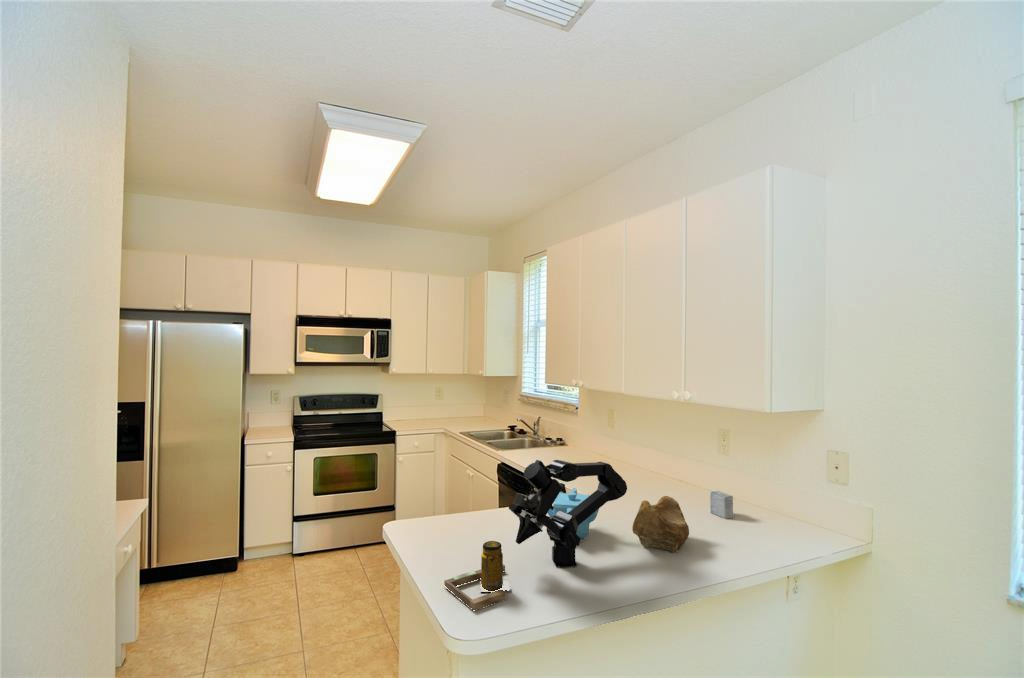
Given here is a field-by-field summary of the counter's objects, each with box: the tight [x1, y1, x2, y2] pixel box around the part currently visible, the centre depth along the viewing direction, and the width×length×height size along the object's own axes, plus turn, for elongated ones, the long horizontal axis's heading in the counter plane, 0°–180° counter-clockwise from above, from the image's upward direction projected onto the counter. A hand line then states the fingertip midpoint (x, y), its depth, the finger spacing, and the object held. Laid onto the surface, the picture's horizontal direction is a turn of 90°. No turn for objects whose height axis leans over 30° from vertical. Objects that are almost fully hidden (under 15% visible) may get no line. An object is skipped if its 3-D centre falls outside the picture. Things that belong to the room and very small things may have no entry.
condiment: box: [480, 540, 512, 593], centre depth 142 cm, size 7×8×12 cm
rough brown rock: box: [631, 495, 690, 554], centre depth 171 cm, size 23×17×15 cm
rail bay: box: [444, 563, 506, 611], centre depth 141 cm, size 19×16×2 cm
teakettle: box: [547, 487, 600, 541], centre depth 182 cm, size 19×19×15 cm
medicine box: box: [709, 490, 734, 520], centre depth 202 cm, size 8×4×9 cm, turn 22°
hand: (517, 543), depth 147 cm, fingers closed
